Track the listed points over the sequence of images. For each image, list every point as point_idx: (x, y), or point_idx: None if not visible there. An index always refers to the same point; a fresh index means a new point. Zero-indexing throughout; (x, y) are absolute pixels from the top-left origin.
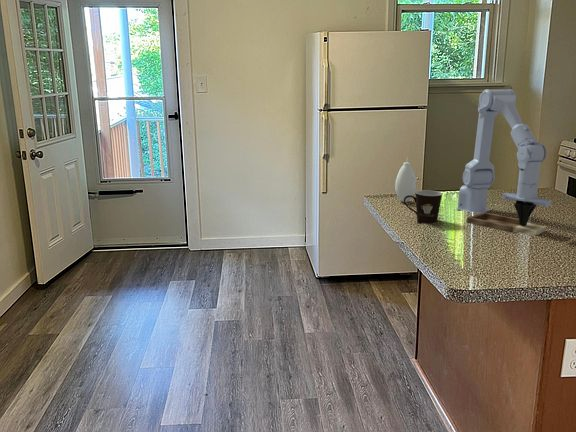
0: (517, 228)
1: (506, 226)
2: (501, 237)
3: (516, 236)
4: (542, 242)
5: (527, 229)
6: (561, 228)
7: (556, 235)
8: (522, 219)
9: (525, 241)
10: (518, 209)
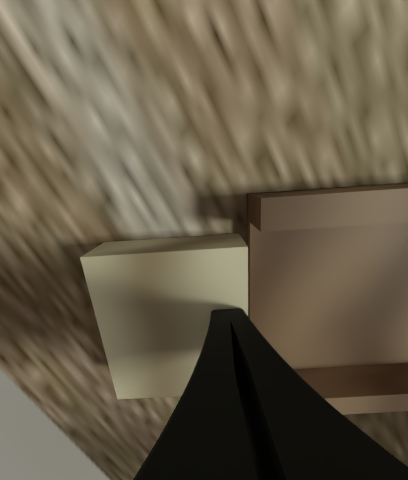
0: (225, 246)
1: (303, 194)
2: (249, 36)
3: (188, 167)
4: (4, 174)
5: (147, 256)
6: (131, 456)
7: (69, 359)
8: (228, 341)
9: (76, 94)
10: (343, 463)
